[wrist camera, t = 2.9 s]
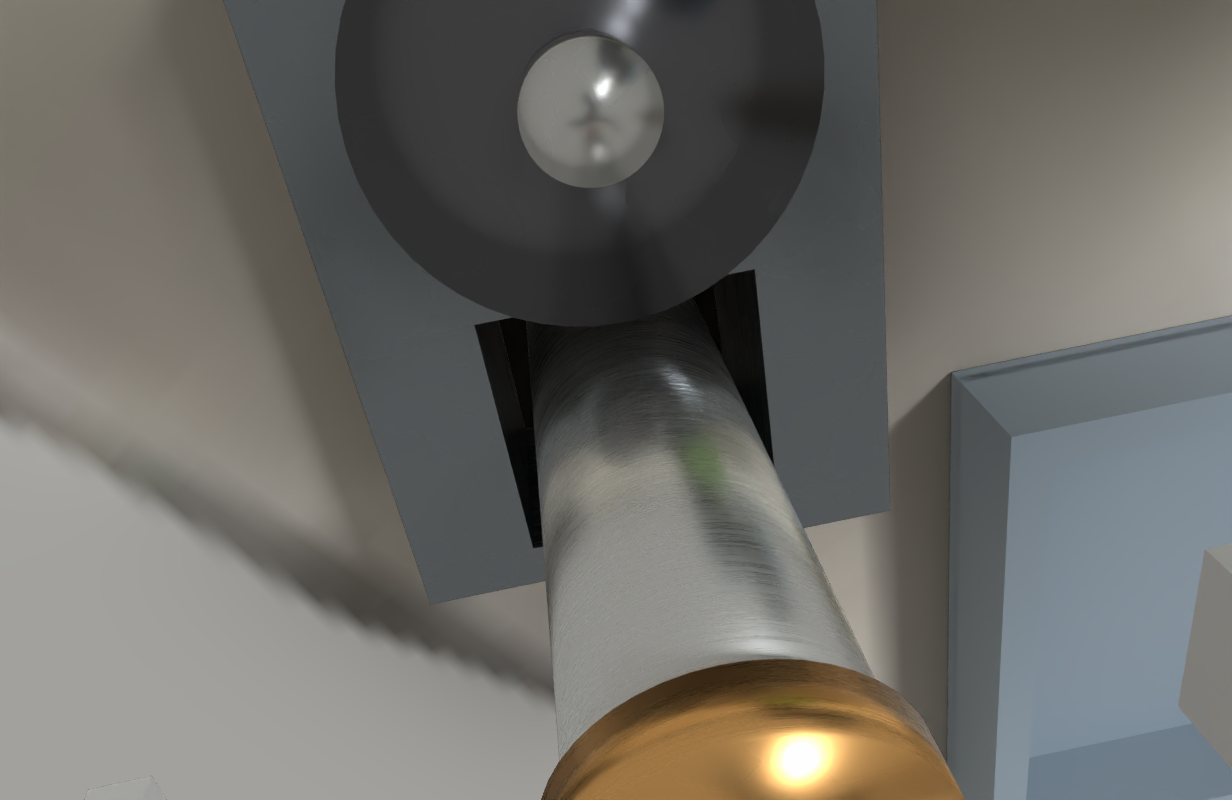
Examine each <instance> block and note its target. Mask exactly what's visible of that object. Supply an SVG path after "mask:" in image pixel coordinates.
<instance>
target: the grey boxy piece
mask: <svg viewBox="0 0 1232 800" xmlns="http://www.w3.org/2000/svg"><path fill="white" fill-rule="evenodd" d="M223 1H224V4H225V7H226V10H227V12H228V15H229V18H230V21H231V24H232V27H233V30H234V33H235V36H236V39H237V42H238V44H239V47H240V50H241V53H242V56H243V59H244V62H245V65H246V68H247V71H248V74H249V77H250V79H251V82H252V85H253V88H254V91H255V94H256V97H257V100H258V103H259V106H260V109H261V111H262V114H263V117H264V120H265V123H266V126H267V129H268V132H269V135H270V138H271V141H272V144H273V146H274V149H275V152H276V155H277V158H278V161H279V164H280V167H281V170H282V173H283V176H284V178H285V181H286V184H287V187H288V190H289V193H290V196H291V199H292V202H293V205H294V208H295V210H296V213H297V216H298V219H299V222H300V225H301V228H302V231H303V234H304V237H305V240H306V243H307V245H308V248H309V251H310V254H311V257H312V260H313V263H314V266H315V269H316V272H317V275H318V277H319V280H320V283H321V286H322V289H323V292H324V295H325V298H326V301H327V304H328V307H329V309H330V312H331V315H332V318H333V321H334V324H335V327H336V330H337V333H338V336H339V339H340V342H341V344H342V347H343V350H344V353H345V356H346V359H347V362H348V365H349V368H350V371H351V374H352V376H353V379H354V382H355V385H356V388H357V391H358V394H359V397H360V400H361V403H362V406H363V409H364V411H365V414H366V417H367V420H368V423H369V426H370V429H371V432H372V435H373V438H374V441H375V443H376V446H377V449H378V452H379V455H380V458H381V461H382V464H383V467H384V470H385V473H386V475H387V478H388V481H389V484H390V487H391V490H392V493H393V496H394V499H395V502H396V505H397V508H398V510H399V513H400V516H401V519H402V522H403V525H404V528H405V531H406V534H407V537H408V540H409V542H410V545H411V548H412V551H413V554H414V557H415V560H416V563H417V566H418V569H419V572H420V575H421V577H422V580H423V583H424V586H425V589H426V592H427V595H428V598H429V601H430V604H435V603H440V602H445V601H450V600H454V599H459V598H464V597H469V596H474V595H479V594H484V593H489V592H494V591H498V590H503V589H508V588H513V587H518V586H523V585H528V584H533V583H537V582H542V581H546V578H545V565H544V552H543V538H542V525H541V512H540V499H539V486H538V473H537V460H536V447H535V433H534V426H531V427H525V423H524V419H523V415H522V411H521V407H520V403H519V399H518V395H517V391H516V387H515V383H514V379H513V375H512V371H511V367H510V363H509V358H508V354H507V350H506V346H505V342H504V338H503V334H502V330H501V326H500V322H499V320H502V319H507V318H512V317H513V318H518V319H522V320H527V321H531V322H535V323H540V324H549V325H559V326H568V327H569V326H600V325H608V324H615V323H622V322H627V321H631V320H635V319H639V318H643V317H646V316H650V315H653V314H656V313H658V312H661V311H664V310H666V309H669V308H671V307H674V306H676V305H679V304H681V303H683V302H684V301H686V300H688V299H690V298H692V297H694V296H696V295H697V294H699V293H701V292H703V291H705V290H706V289H708V288H709V287H710V286H712V285H713V284H714V291H715V299H716V307H717V316H718V324H719V332H720V340H721V348H722V356H723V361H724V363H725V365H726V367H727V369H728V371H729V373H730V375H731V377H732V380H733V382H734V384H735V386H736V388H737V390H738V392H739V394H740V396H741V398H742V401H743V403H744V405H745V407H746V409H747V411H748V413H749V415H750V417H751V419H752V422H753V424H754V426H755V428H756V430H757V432H758V434H759V436H760V438H761V440H762V443H763V445H764V447H765V449H766V451H767V453H768V455H769V457H770V459H771V461H772V464H773V466H774V468H775V470H776V472H777V474H778V476H779V478H780V480H781V482H782V485H783V487H784V489H785V491H786V493H787V495H788V497H789V499H790V501H791V503H792V506H793V508H794V510H795V512H796V514H797V516H798V518H799V520H800V522H801V524H802V527H803V528H806V527H811V526H816V525H821V524H826V523H831V522H835V521H840V520H845V519H850V518H855V517H860V516H865V515H870V514H874V513H879V512H884V511H889V510H890V479H889V442H888V405H887V367H886V330H885V293H884V255H883V218H882V181H881V143H880V106H879V69H878V31H877V0H223Z"/></svg>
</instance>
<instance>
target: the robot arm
mask: <svg viewBox="0 0 1232 800" xmlns="http://www.w3.org/2000/svg"><path fill="white" fill-rule="evenodd" d="M1178 707H1179V708H1180V709H1181V710H1182V711H1183V713H1184V714H1185V715H1186V716H1187V717H1188V718H1189V720H1190V721H1191V722H1192V723H1193V724H1194V726H1195V727H1196V728H1197V729H1198V730H1199V731H1200V733H1201V734H1202V735H1203V736H1204V737H1205V738H1206V740H1207V741H1208V742H1209V743H1210V744H1211V745H1212V747H1213V748H1214V749H1215V750H1216V751H1217V753H1218V754H1219V755H1220V756H1221V757H1222V758H1223V760H1224V761H1225V762H1226V763H1227V764H1228V765H1229V767H1230V768H1231V769H1232V543H1230V544H1226V545H1221V546H1216V547H1212V548H1207V549H1205V551H1204V557H1203V562H1202V568H1201V574H1200V580H1199V586H1198V592H1197V598H1196V603H1195V609H1194V615H1193V621H1192V627H1191V633H1190V639H1189V644H1188V650H1187V656H1186V662H1185V668H1184V674H1183V680H1182V685H1181V691H1180V697H1179V703H1178ZM84 800H166V799H165V797H164V795H163V793H162V792H161V790H160V788H159V787H158V785H157V783H156V782H155V780H154V779H153V777H152V776H149V777H144V778H139V779H135V780H130V781H126V782H121V783H116V784H111V785H107V786H102V787H98V788H93V789H89V790H88V791H87V794H86V796H85V798H84Z"/></svg>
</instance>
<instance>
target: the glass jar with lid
mask: <svg viewBox="0 0 1232 800" xmlns="http://www.w3.org/2000/svg"><path fill="white" fill-rule="evenodd" d="M526 328H527V342H528V355H529V368H530V381H531V394H532V407H533V420H534V433H535V447H536V460H537V473H538V486H539V499H540V512H541V525H542V538H543V552H544V565H545V578H546V591H547V604H548V617H549V630H550V644H551V657H552V670H553V683H554V696H555V709H556V722H557V735H558V748H559V763H558V764H557V766H556V768H555V770H554V772H553V773H552V775H551V777H550V778H549V780H548V782H547V785H546V788H545V790H544V793H543V796H542V799H541V800H965V799H964V797H963V795H962V793H961V791H960V789H959V787H958V785H957V783H956V781H955V779H954V777H953V775H952V773H951V771H950V769H949V767H948V765H947V763H946V761H945V759H944V758H943V756H942V754H941V752H940V750H939V748H938V746H937V744H936V742H935V740H934V738H933V736H932V734H931V732H930V730H929V729H928V727H927V725H926V723H925V721H924V719H923V718H922V717H921V716H920V714H919V713H918V712H917V711H916V710H915V708H914V707H913V706H912V705H911V704H910V703H909V702H908V701H907V700H906V699H904V698H903V697H902V696H901V695H900V694H898V693H897V692H896V691H895V690H893V689H891V688H890V687H888V686H886V685H885V684H883V683H881V682H880V681H878V680H876V679H875V678H874V676H873V674H872V671H871V669H870V667H869V665H868V663H867V661H866V659H865V657H864V655H863V653H862V650H861V648H860V646H859V644H858V642H857V640H856V638H855V636H854V634H853V632H852V629H851V627H850V625H849V623H848V621H847V619H846V617H845V615H844V613H843V611H842V608H841V606H840V604H839V602H838V600H837V598H836V596H835V594H834V592H833V590H832V587H831V585H830V583H829V581H828V579H827V577H826V575H825V573H824V571H823V569H822V566H821V564H820V562H819V560H818V558H817V556H816V554H815V552H814V550H813V548H812V545H811V543H810V541H809V539H808V537H807V535H806V533H805V531H804V529H803V527H802V524H801V522H800V520H799V518H798V516H797V514H796V512H795V510H794V508H793V506H792V503H791V501H790V499H789V497H788V495H787V493H786V491H785V489H784V487H783V485H782V482H781V480H780V478H779V476H778V474H777V472H776V470H775V468H774V466H773V464H772V461H771V459H770V457H769V455H768V453H767V451H766V449H765V447H764V445H763V443H762V440H761V438H760V436H759V434H758V432H757V430H756V428H755V426H754V424H753V422H752V419H751V417H750V415H749V413H748V411H747V409H746V407H745V405H744V403H743V401H742V398H741V396H740V394H739V392H738V390H737V388H736V386H735V384H734V382H733V380H732V377H731V375H730V373H729V371H728V369H727V367H726V365H725V363H724V361H723V359H722V356H721V354H720V352H719V350H718V348H717V346H716V344H715V342H714V340H713V338H712V335H711V333H710V331H709V329H708V327H707V325H706V323H705V321H704V319H703V317H702V314H701V312H700V310H699V308H698V306H697V304H696V302H695V300H694V298H693V297H692V298H690V299H688V300H686V301H684V302H683V303H681V304H679V305H676V306H674V307H671V308H669V309H666V310H664V311H661V312H658V313H656V314H653V315H650V316H646V317H643V318H639V319H635V320H631V321H627V322H622V323H615V324H608V325H600V326H569V327H568V326H559V325H549V324H540V323H535V322H531V321H527V320H526Z"/></svg>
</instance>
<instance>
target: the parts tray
mask: <svg viewBox="0 0 1232 800" xmlns="http://www.w3.org/2000/svg"><path fill="white" fill-rule="evenodd" d="M1230 543H1232V316H1227V317H1222V318H1217V319H1212V320H1207V321H1203V322H1198V323H1193V324H1188V325H1183V326H1178V327H1173V328H1168V329H1163V330H1158V331H1153V332H1148V333H1143V334H1138V335H1133V336H1128V337H1123V338H1118V339H1113V340H1109V341H1104V342H1099V343H1094V344H1089V345H1084V346H1079V347H1074V348H1069V349H1064V350H1059V351H1054V352H1049V353H1044V354H1039V355H1034V356H1029V357H1024V358H1019V359H1015V360H1010V361H1005V362H1000V363H995V364H990V365H985V366H980V367H975V368H970V369H965V370H960V371H955V372H952V375H951V461H950V548H949V634H948V720H947V765H948V767H949V769H950V771H951V773H952V775H953V777H954V779H955V781H956V783H957V785H958V787H959V789H960V791H961V793H962V795H963V797H964V799H965V800H1232V769H1231V768H1230V767H1229V765H1228V764H1227V763H1226V762H1225V761H1224V760H1223V758H1222V757H1221V756H1220V755H1219V754H1218V753H1217V751H1216V750H1215V749H1214V748H1213V747H1212V745H1211V744H1210V743H1209V742H1208V741H1207V740H1206V738H1205V737H1204V736H1203V735H1202V734H1201V733H1200V731H1199V730H1198V729H1197V728H1196V727H1195V726H1194V724H1193V723H1192V722H1191V721H1190V720H1189V718H1188V717H1187V716H1186V715H1185V714H1184V713H1183V711H1182V710H1181V709H1180V708H1179V707H1178V703H1179V697H1180V691H1181V685H1182V680H1183V674H1184V668H1185V662H1186V656H1187V650H1188V644H1189V639H1190V633H1191V627H1192V621H1193V615H1194V609H1195V603H1196V598H1197V592H1198V586H1199V580H1200V574H1201V568H1202V562H1203V557H1204V551H1205V549H1207V548H1212V547H1216V546H1221V545H1226V544H1230Z"/></svg>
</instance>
